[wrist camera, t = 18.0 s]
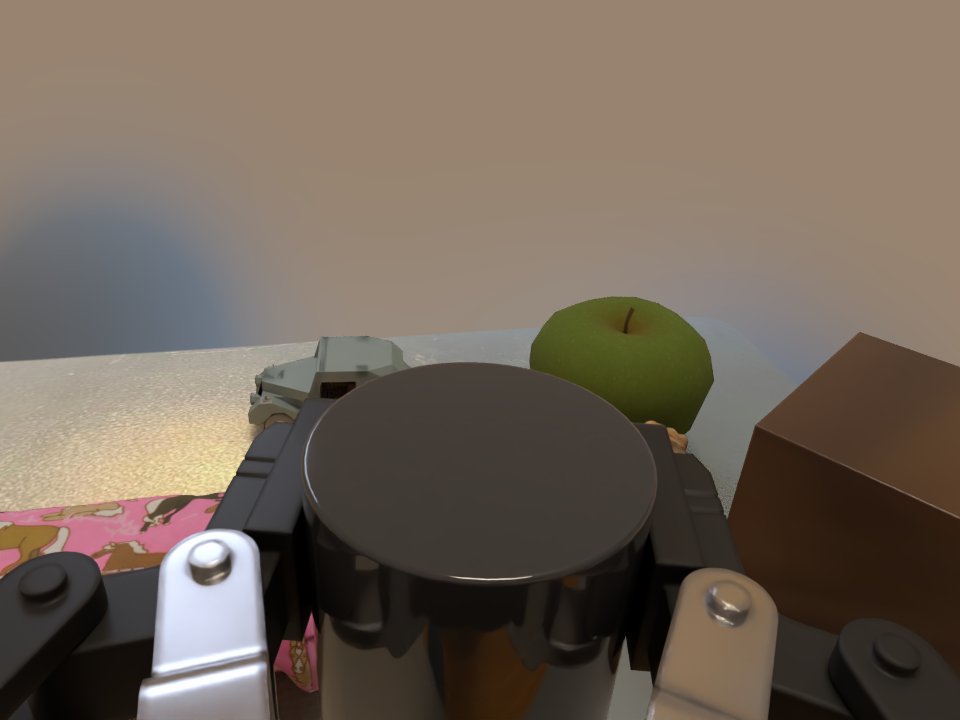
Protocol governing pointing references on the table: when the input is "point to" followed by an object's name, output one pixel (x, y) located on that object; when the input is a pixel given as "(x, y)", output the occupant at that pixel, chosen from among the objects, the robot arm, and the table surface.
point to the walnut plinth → (859, 495)
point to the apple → (629, 358)
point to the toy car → (321, 376)
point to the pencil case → (132, 548)
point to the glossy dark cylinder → (473, 545)
